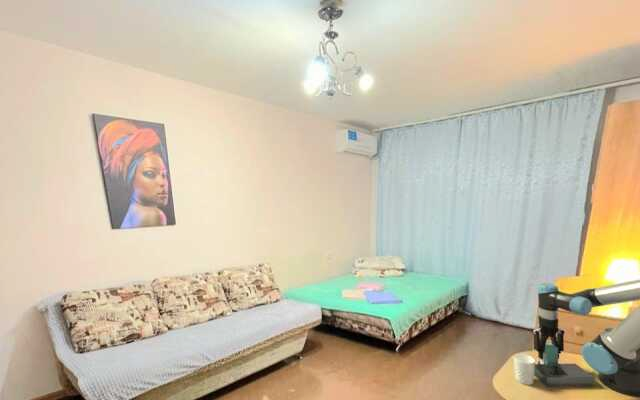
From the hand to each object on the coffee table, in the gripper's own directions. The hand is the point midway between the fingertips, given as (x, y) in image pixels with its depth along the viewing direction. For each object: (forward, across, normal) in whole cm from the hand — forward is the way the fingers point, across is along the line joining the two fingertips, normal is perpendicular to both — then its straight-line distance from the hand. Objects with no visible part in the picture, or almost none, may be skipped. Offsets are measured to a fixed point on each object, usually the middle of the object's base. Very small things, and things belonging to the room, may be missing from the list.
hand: (548, 365), depth 145 cm
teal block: (0, 0, 0) cm, 0 cm away
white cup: (+1, +18, +10) cm, 20 cm away
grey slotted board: (+1, +1, +9) cm, 9 cm away
